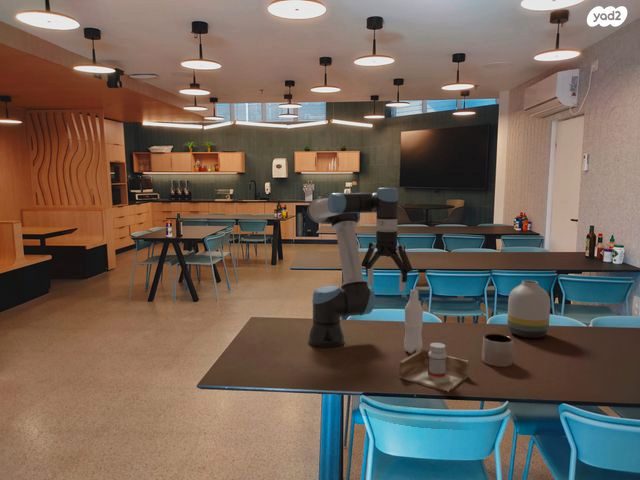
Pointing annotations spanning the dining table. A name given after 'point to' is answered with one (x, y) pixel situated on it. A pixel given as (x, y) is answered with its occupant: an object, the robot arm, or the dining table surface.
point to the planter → (497, 350)
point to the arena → (417, 371)
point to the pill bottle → (437, 361)
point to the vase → (528, 310)
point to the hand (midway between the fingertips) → (385, 288)
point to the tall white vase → (413, 323)
